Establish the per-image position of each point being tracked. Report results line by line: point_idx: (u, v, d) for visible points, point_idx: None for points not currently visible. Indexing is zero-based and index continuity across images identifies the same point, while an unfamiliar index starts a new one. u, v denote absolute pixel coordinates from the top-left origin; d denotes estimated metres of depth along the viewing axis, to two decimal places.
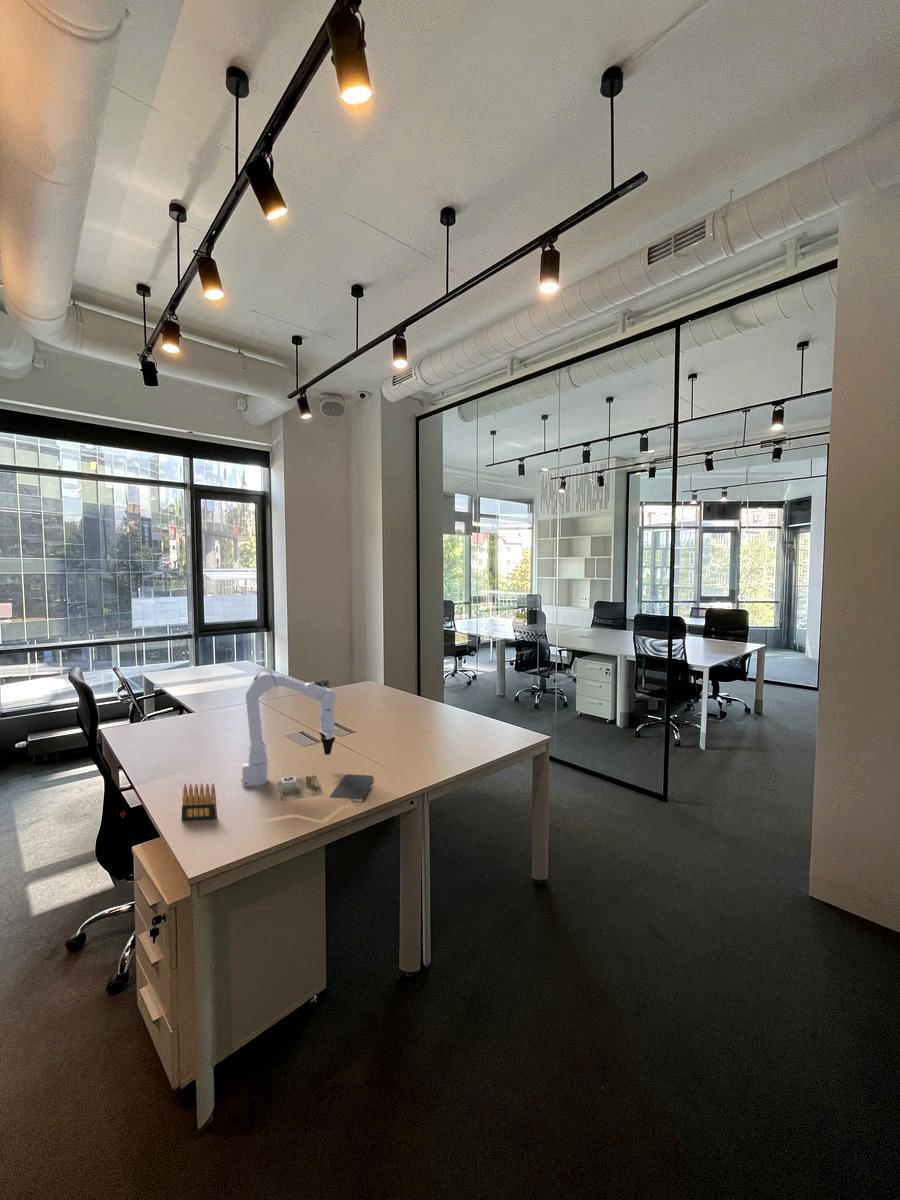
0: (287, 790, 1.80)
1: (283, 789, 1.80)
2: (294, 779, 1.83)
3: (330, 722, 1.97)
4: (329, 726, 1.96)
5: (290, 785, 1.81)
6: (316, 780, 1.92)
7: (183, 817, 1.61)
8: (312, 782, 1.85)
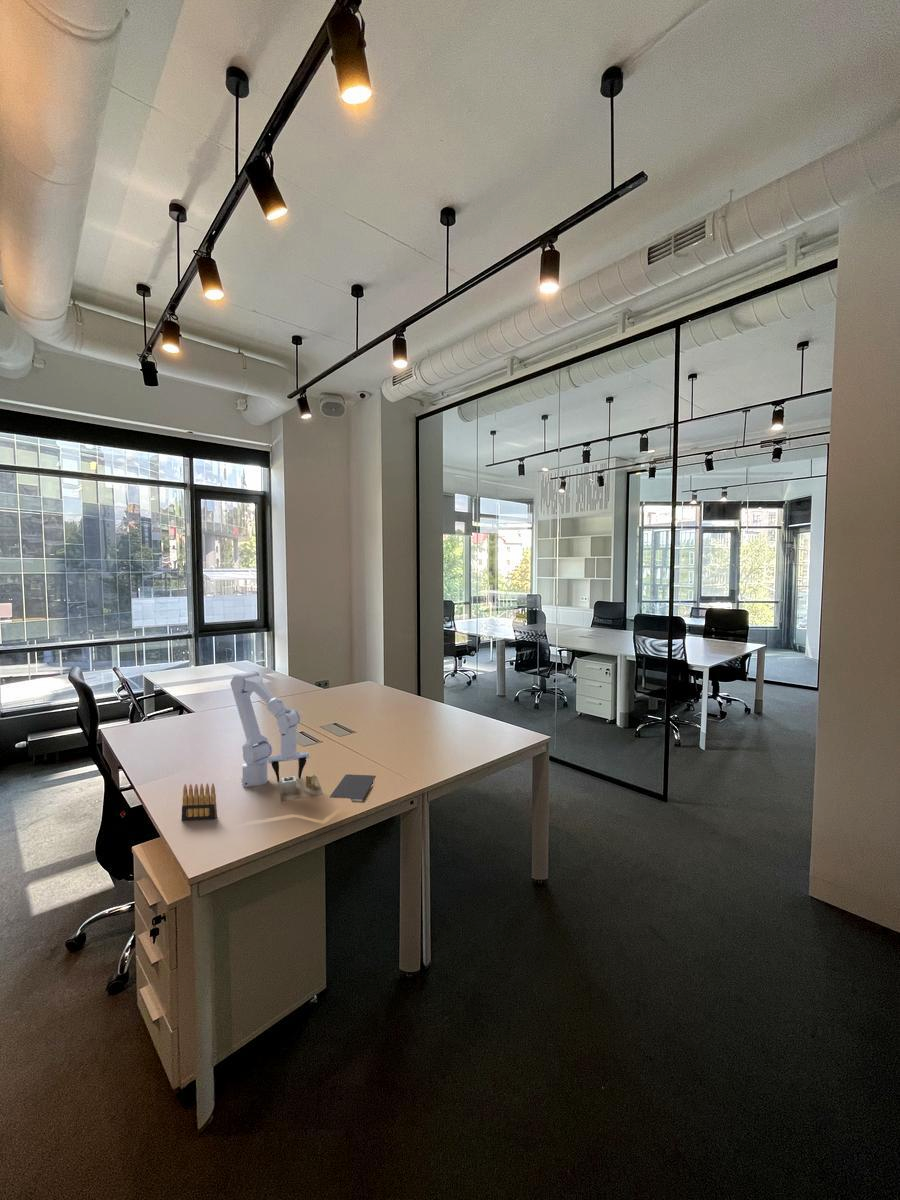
0: (287, 790, 1.80)
1: (283, 789, 1.80)
2: (294, 779, 1.83)
3: (281, 748, 1.80)
4: (281, 752, 1.81)
5: (290, 785, 1.81)
6: (316, 780, 1.92)
7: (183, 817, 1.61)
8: (312, 782, 1.85)
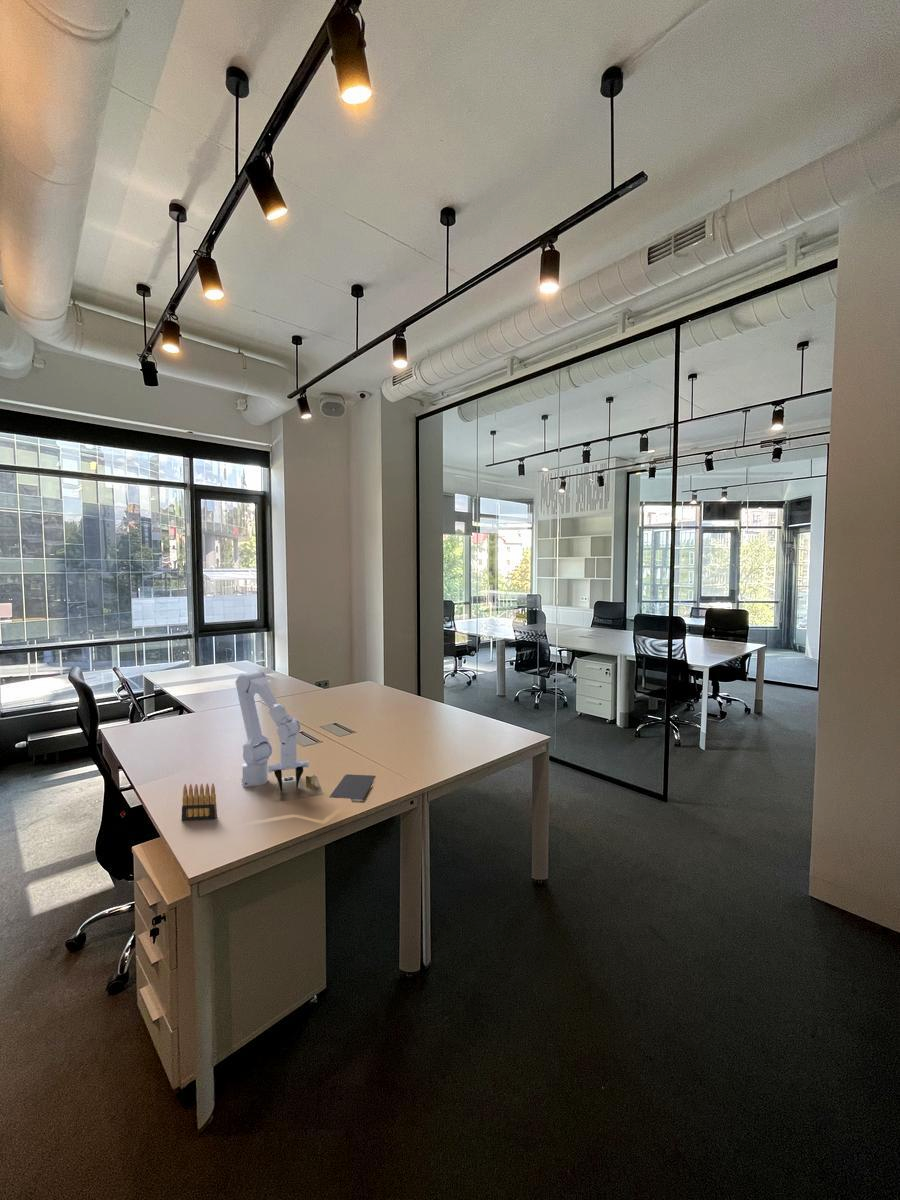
0: (287, 790, 1.80)
1: (283, 789, 1.80)
2: (294, 779, 1.83)
3: (281, 757, 1.80)
4: (281, 761, 1.81)
5: (290, 785, 1.81)
6: (316, 780, 1.92)
7: (183, 817, 1.61)
8: (312, 782, 1.85)
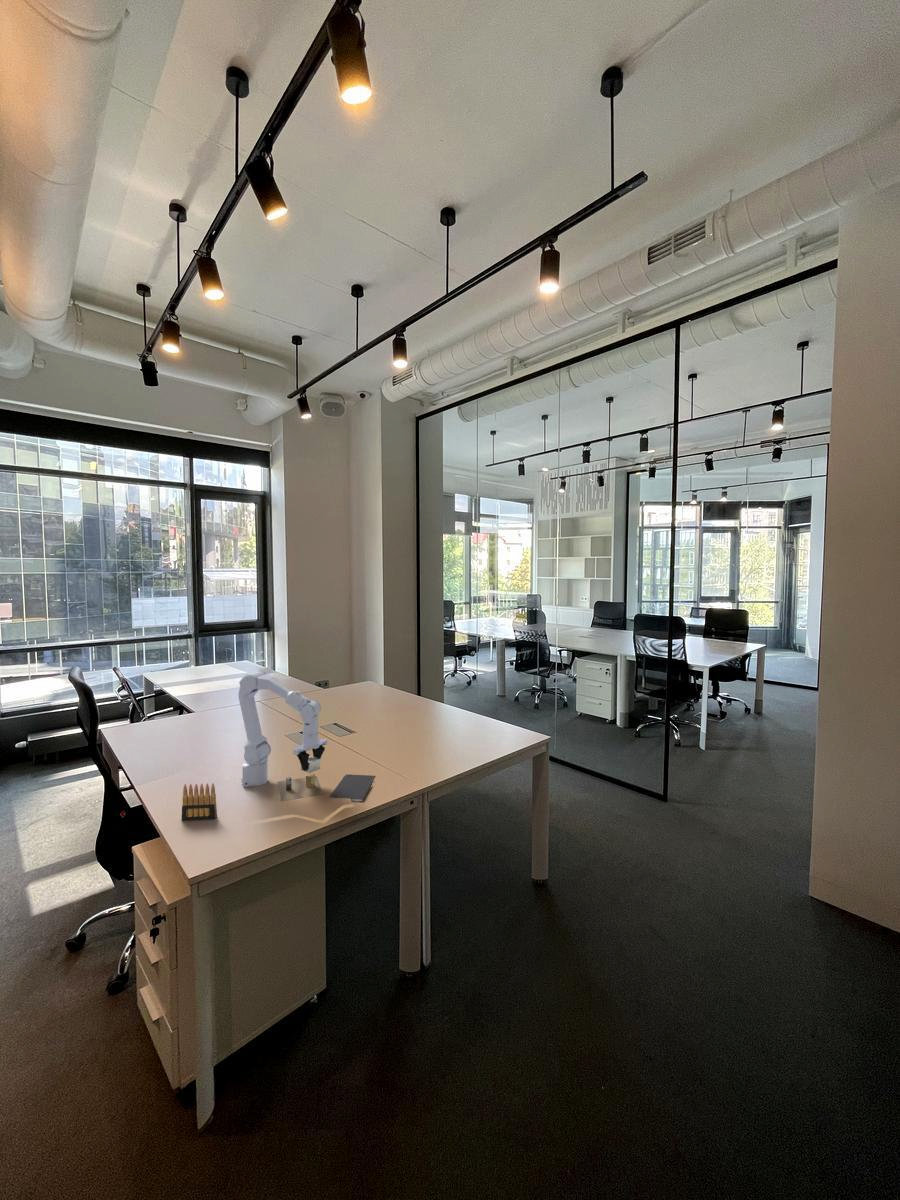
0: (313, 769, 1.84)
1: (310, 769, 1.83)
2: (316, 758, 1.87)
3: (307, 737, 1.83)
4: (305, 742, 1.83)
5: (315, 764, 1.85)
6: (316, 780, 1.92)
7: (183, 817, 1.61)
8: (312, 782, 1.85)
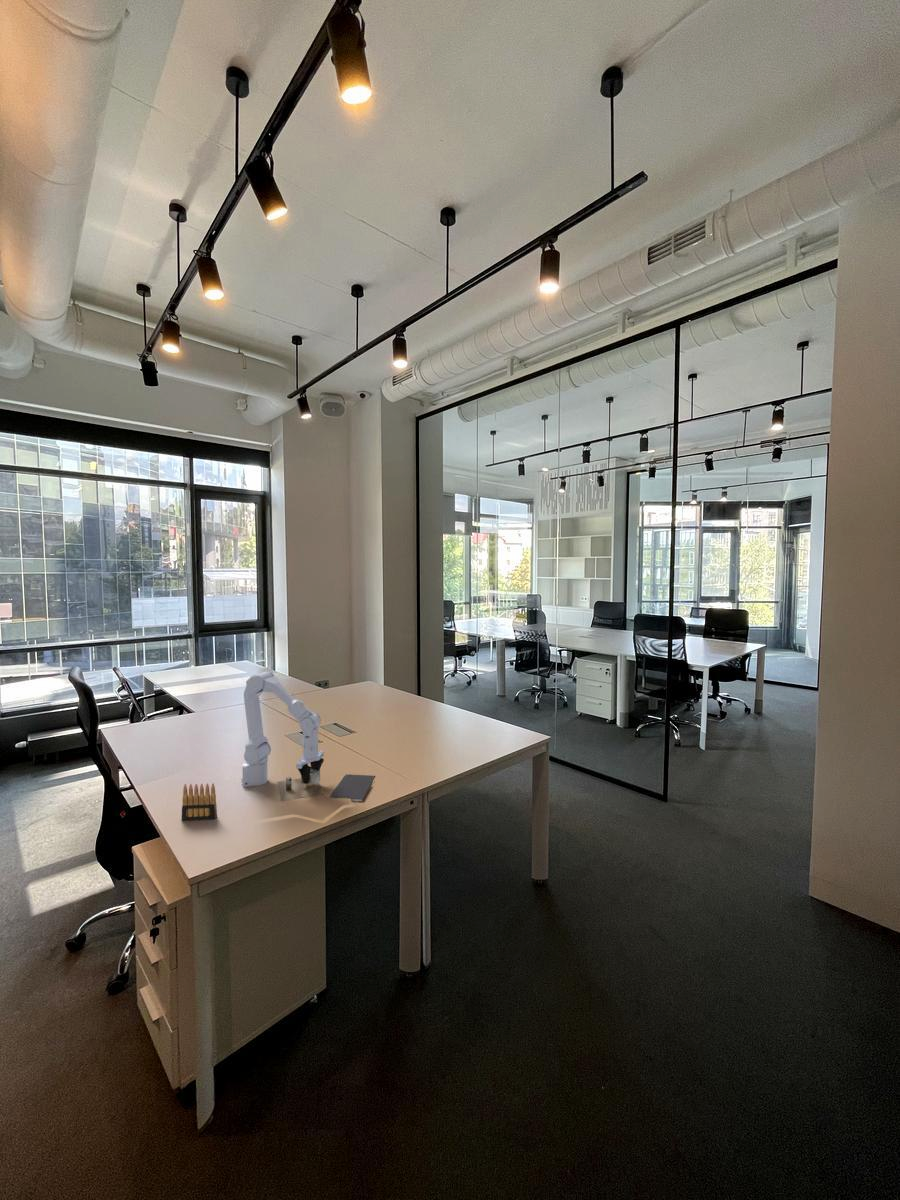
0: (314, 781, 1.85)
1: (312, 781, 1.83)
2: (316, 770, 1.87)
3: (308, 750, 1.83)
4: (307, 755, 1.83)
5: (316, 776, 1.86)
6: None
7: (183, 817, 1.61)
8: None
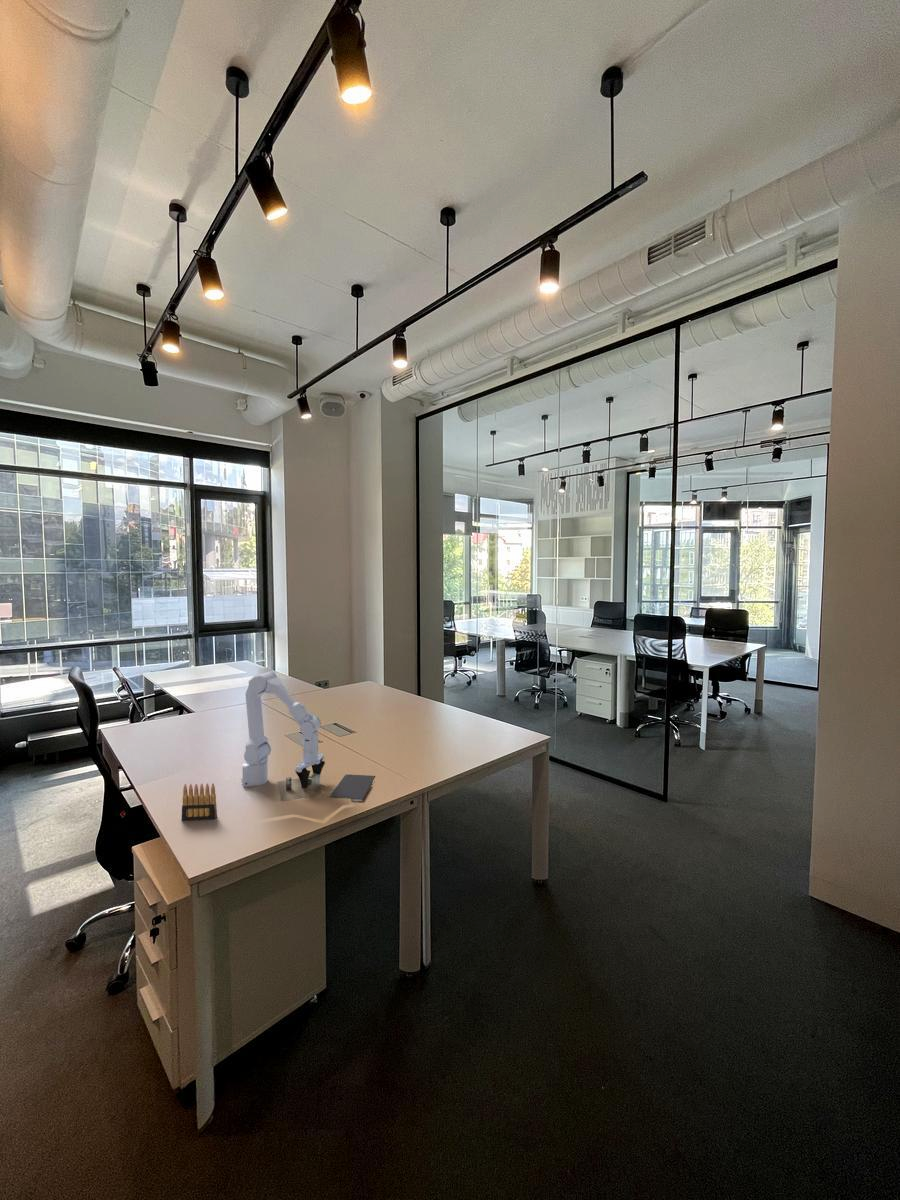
0: (314, 785, 1.85)
1: (312, 785, 1.83)
2: (316, 774, 1.88)
3: (308, 754, 1.83)
4: (307, 758, 1.83)
5: (316, 780, 1.86)
6: None
7: (183, 817, 1.61)
8: None
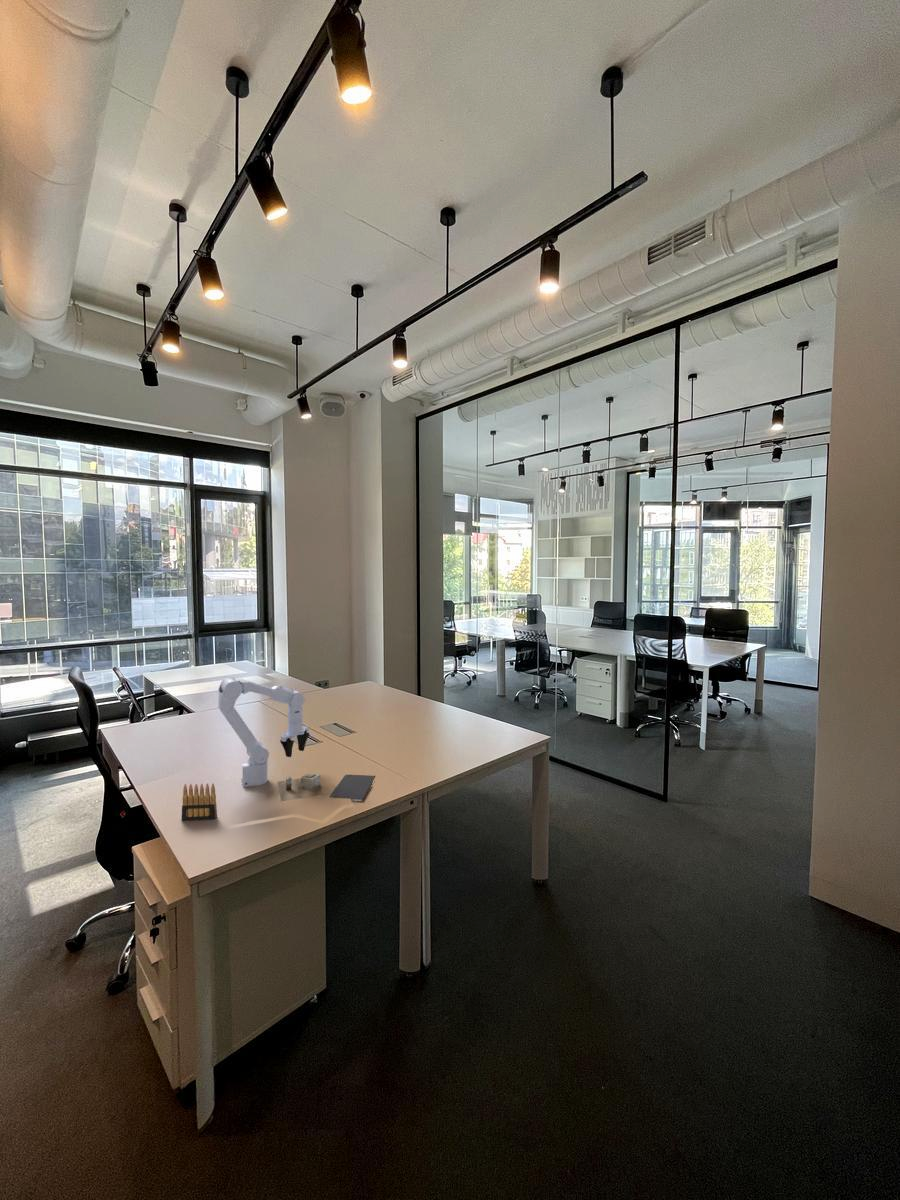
0: (314, 785, 1.85)
1: (312, 785, 1.83)
2: (316, 774, 1.88)
3: (293, 725, 1.95)
4: (291, 729, 1.95)
5: (316, 780, 1.86)
6: None
7: (183, 817, 1.61)
8: None
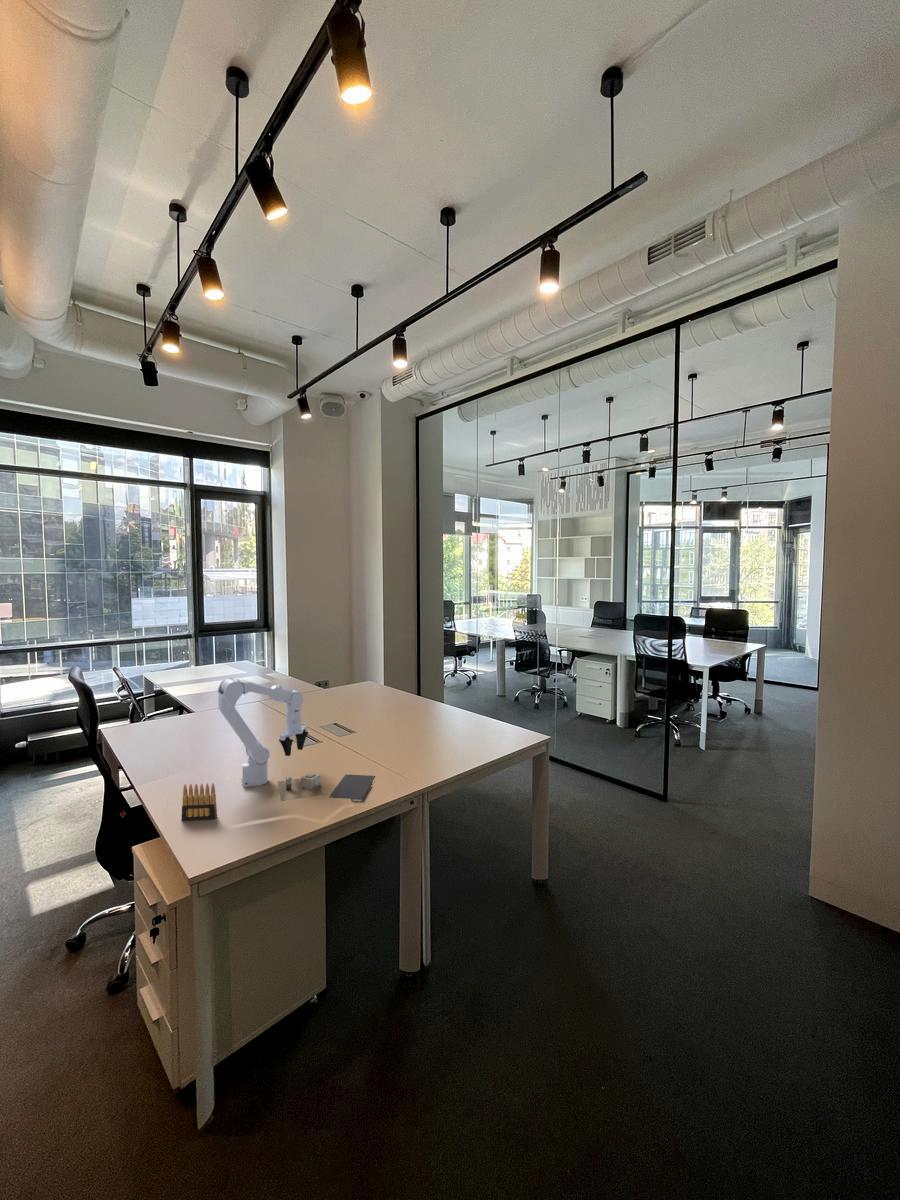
0: (314, 785, 1.85)
1: (312, 785, 1.83)
2: (316, 774, 1.88)
3: (292, 724, 1.95)
4: (290, 728, 1.96)
5: (316, 780, 1.86)
6: None
7: (183, 817, 1.61)
8: None
